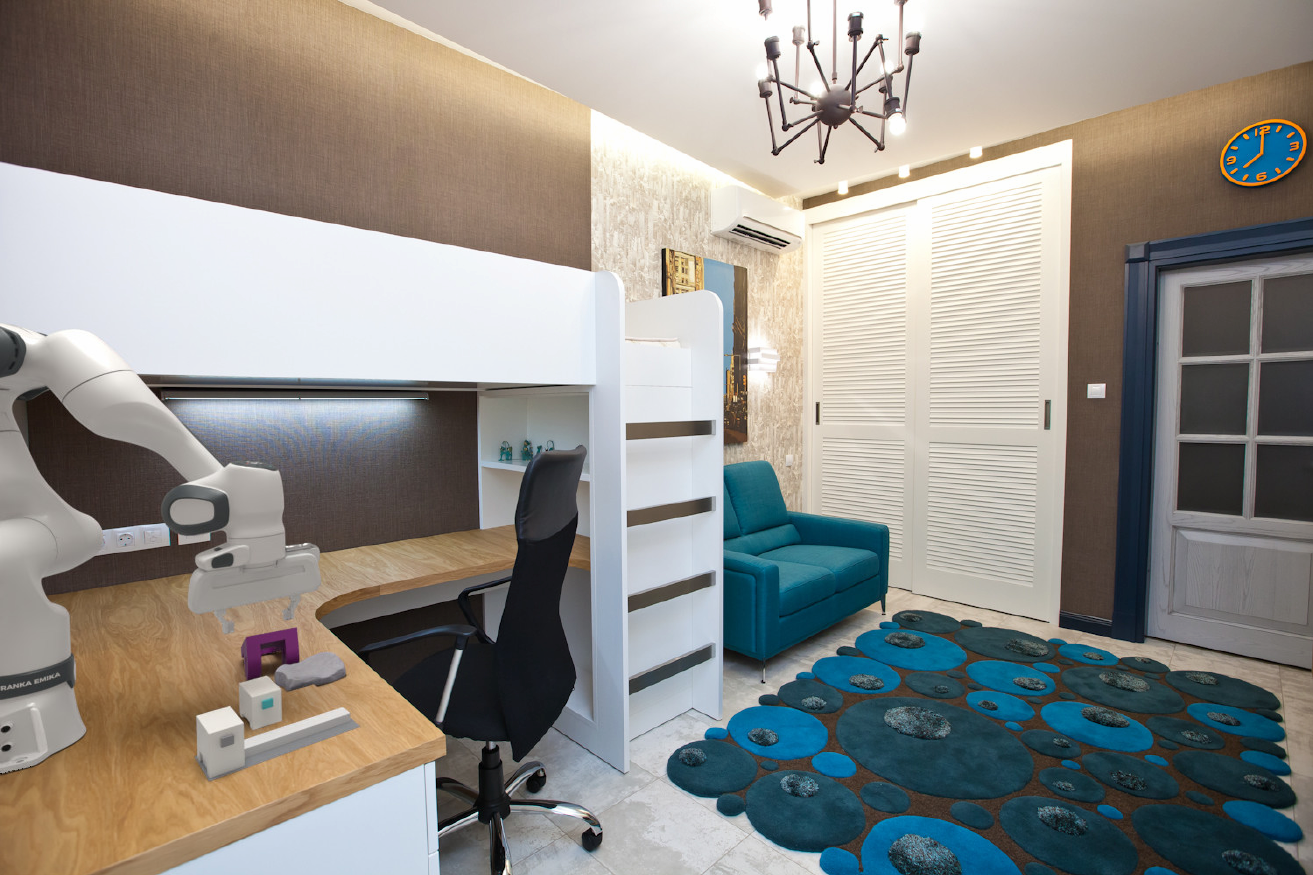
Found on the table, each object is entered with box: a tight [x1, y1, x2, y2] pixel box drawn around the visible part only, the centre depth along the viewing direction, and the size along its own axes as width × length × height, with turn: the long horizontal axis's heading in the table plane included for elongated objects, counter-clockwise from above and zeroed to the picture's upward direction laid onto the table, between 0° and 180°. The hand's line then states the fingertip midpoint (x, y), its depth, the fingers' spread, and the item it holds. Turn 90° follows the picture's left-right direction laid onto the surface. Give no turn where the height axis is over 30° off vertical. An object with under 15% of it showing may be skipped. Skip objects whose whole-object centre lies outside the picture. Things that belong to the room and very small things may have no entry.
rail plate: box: [193, 706, 361, 782], centre depth 103 cm, size 22×10×2 cm, turn 137°
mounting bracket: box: [240, 626, 300, 681], centre depth 136 cm, size 10×8×18 cm
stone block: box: [273, 651, 347, 692], centre depth 129 cm, size 12×5×10 cm
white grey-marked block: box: [195, 705, 245, 778], centre depth 96 cm, size 4×9×7 cm, turn 47°
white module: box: [238, 675, 283, 731], centre depth 110 cm, size 4×9×7 cm, turn 48°
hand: (259, 625), depth 110 cm, fingers open, 8 cm apart
